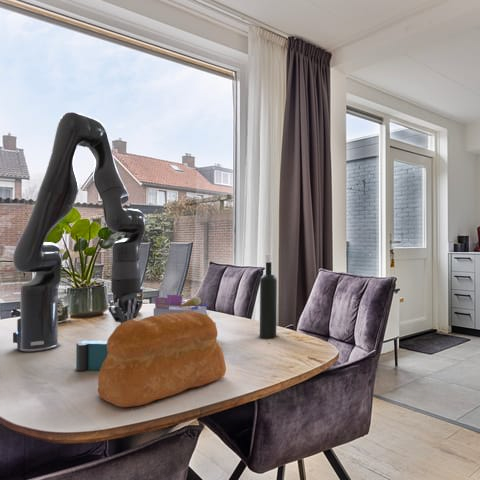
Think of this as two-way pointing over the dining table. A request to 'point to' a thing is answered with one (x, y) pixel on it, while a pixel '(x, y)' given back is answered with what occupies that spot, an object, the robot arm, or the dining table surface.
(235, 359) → the dining table surface
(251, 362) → the dining table surface
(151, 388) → the bread
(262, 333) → the wine bottle
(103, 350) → the teal block
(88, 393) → the dining table surface
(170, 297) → the toy vehicle
